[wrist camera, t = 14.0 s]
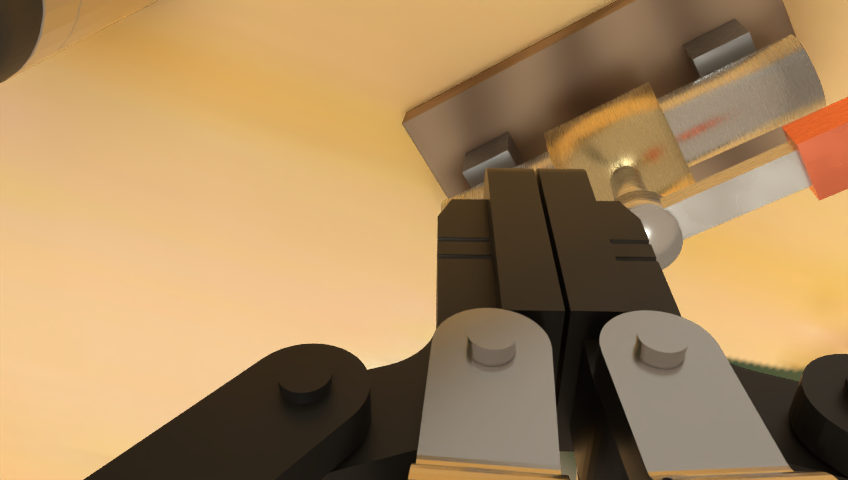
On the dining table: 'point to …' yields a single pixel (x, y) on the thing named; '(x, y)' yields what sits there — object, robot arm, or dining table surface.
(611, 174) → the pipe valve
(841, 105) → the valve lever
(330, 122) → the dining table surface
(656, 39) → the base board
